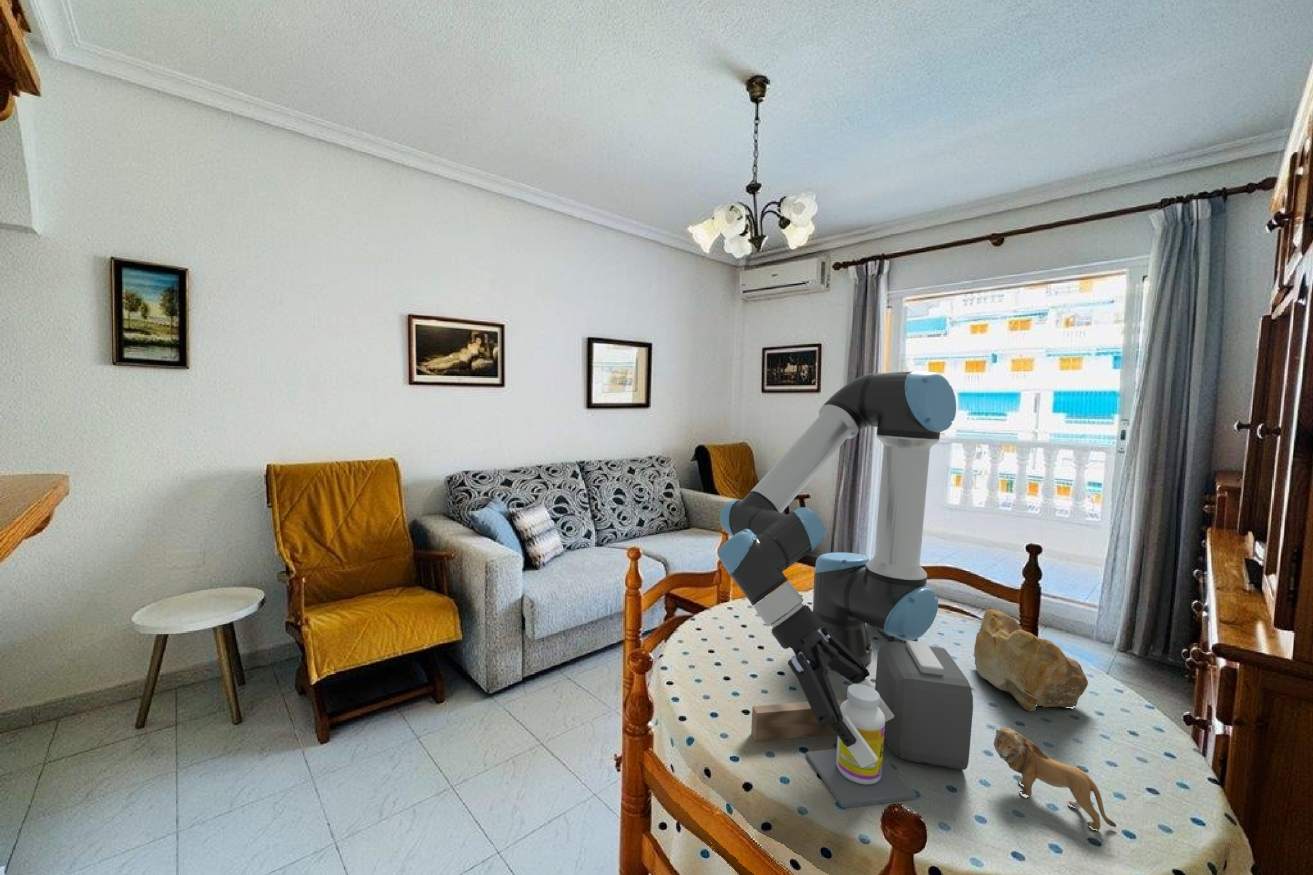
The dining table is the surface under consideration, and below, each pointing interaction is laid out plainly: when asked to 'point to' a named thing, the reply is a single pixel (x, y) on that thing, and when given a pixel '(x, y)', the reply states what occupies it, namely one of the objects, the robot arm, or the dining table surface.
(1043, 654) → the rough brown rock
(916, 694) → the alarm clock
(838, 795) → the rubber mat
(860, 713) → the supplement bottle
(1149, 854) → the dining table surface
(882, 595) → the robot arm
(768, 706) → the walnut rail
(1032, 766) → the lion figurine
